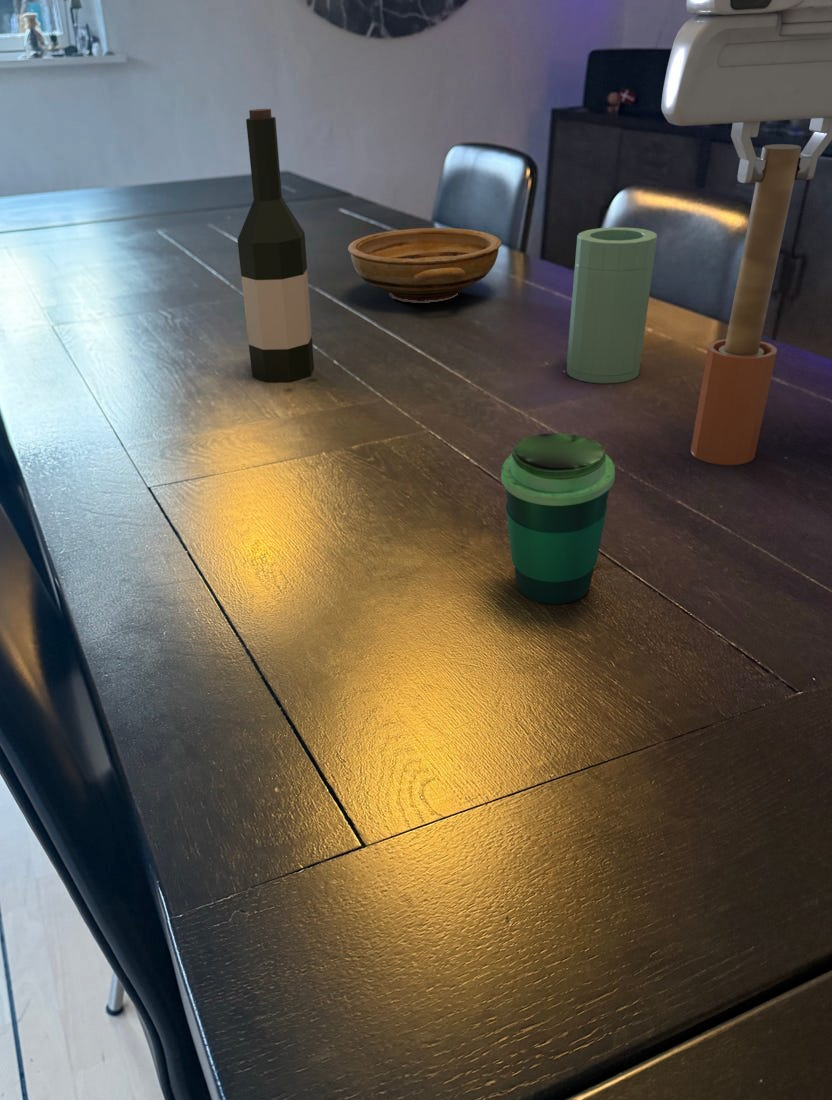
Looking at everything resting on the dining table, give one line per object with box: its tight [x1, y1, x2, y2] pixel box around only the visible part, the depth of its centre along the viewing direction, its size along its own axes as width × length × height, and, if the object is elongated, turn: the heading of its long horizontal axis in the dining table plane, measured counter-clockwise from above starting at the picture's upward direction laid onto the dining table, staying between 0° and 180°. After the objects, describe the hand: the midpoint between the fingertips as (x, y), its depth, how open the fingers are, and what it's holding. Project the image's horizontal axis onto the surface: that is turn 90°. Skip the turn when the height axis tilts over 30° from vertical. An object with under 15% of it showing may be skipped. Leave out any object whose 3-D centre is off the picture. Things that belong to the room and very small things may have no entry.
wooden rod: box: [718, 143, 802, 356], centre depth 83 cm, size 4×4×22 cm
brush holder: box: [690, 338, 778, 466], centre depth 90 cm, size 6×6×11 cm
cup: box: [500, 432, 616, 605], centre depth 70 cm, size 8×8×12 cm
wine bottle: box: [237, 108, 315, 383], centre depth 113 cm, size 8×8×30 cm
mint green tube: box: [566, 226, 658, 384], centre depth 111 cm, size 9×9×16 cm
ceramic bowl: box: [347, 227, 502, 301], centre depth 149 cm, size 30×24×8 cm
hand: (774, 180), depth 79 cm, fingers closed on wooden rod, 3 cm apart
